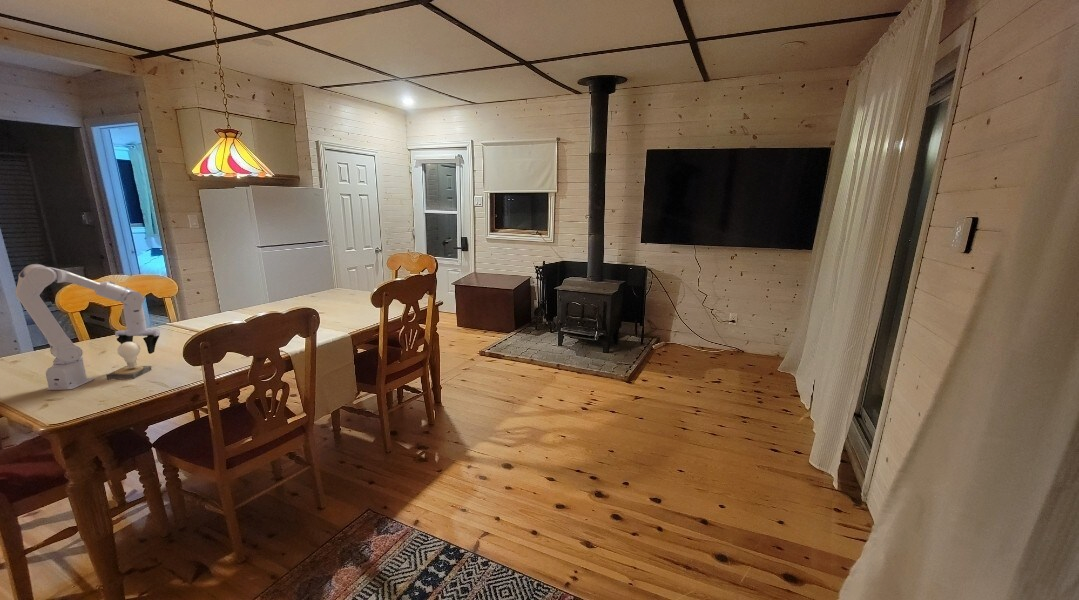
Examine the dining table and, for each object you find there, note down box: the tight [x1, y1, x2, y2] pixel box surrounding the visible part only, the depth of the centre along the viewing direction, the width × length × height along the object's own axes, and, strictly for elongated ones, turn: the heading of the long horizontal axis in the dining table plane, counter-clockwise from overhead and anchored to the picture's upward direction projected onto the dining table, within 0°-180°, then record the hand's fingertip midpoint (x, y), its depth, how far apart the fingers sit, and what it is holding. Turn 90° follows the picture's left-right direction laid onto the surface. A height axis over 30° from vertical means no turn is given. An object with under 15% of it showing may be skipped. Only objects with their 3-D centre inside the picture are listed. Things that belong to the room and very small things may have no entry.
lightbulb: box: [117, 341, 141, 369], centre depth 165 cm, size 6×6×11 cm
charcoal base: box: [105, 365, 152, 380], centre depth 165 cm, size 9×9×2 cm
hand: (141, 353), depth 171 cm, fingers open, 7 cm apart
